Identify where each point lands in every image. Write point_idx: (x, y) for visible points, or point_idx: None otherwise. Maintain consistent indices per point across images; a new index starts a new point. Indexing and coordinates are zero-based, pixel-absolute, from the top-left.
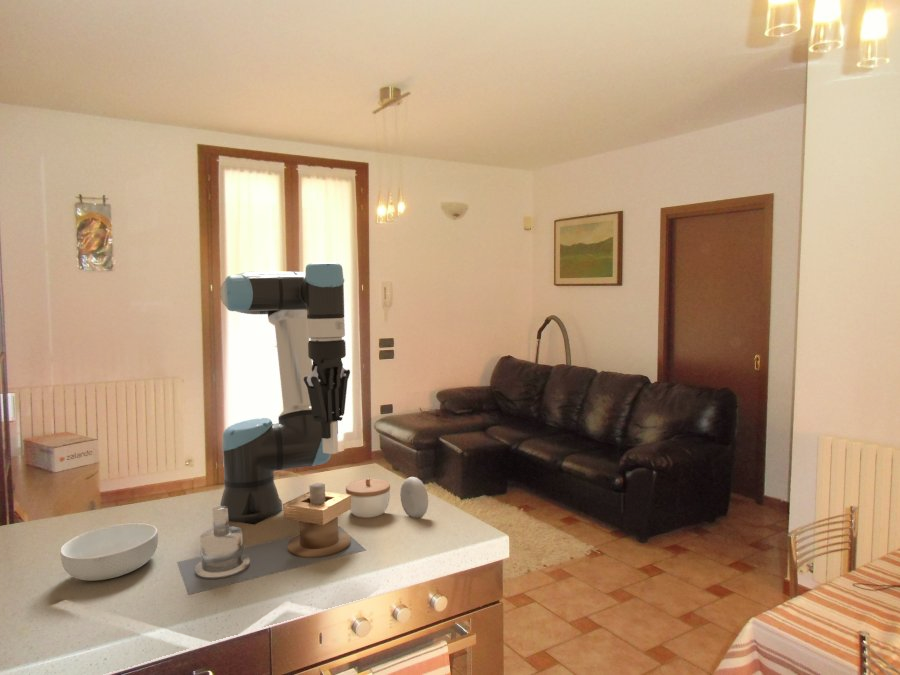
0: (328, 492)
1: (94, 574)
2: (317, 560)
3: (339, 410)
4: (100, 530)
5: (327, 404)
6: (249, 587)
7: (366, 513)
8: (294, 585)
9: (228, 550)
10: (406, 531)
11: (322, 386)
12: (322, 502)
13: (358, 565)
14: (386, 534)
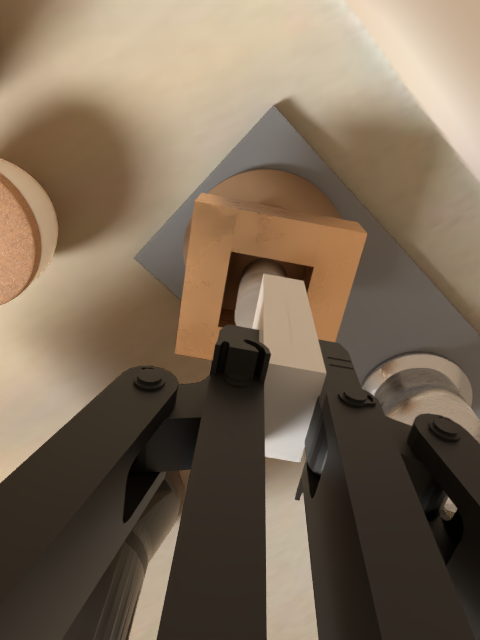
0: (188, 293)
1: None
2: (357, 214)
3: (162, 420)
4: None
5: (426, 535)
6: (468, 311)
7: (52, 204)
8: (457, 220)
9: (463, 401)
10: (78, 45)
11: None
12: (276, 273)
13: (336, 103)
14: (119, 105)
